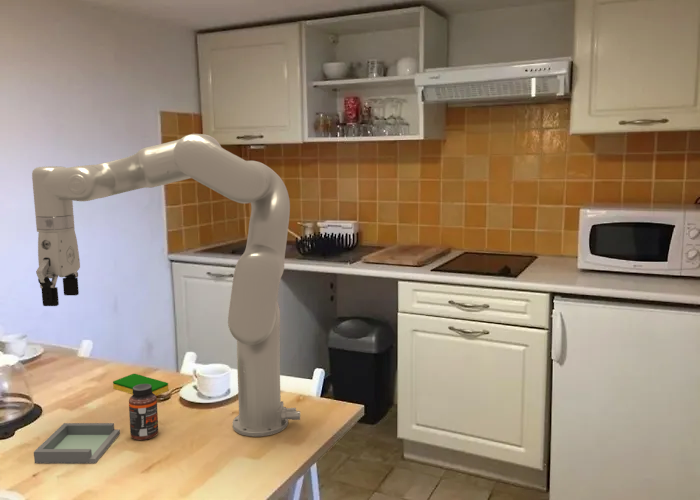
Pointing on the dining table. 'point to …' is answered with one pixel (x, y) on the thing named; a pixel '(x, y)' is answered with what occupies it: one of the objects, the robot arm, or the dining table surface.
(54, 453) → the dock bay
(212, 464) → the dining table surface
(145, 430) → the supplement bottle
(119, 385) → the dish sponge
